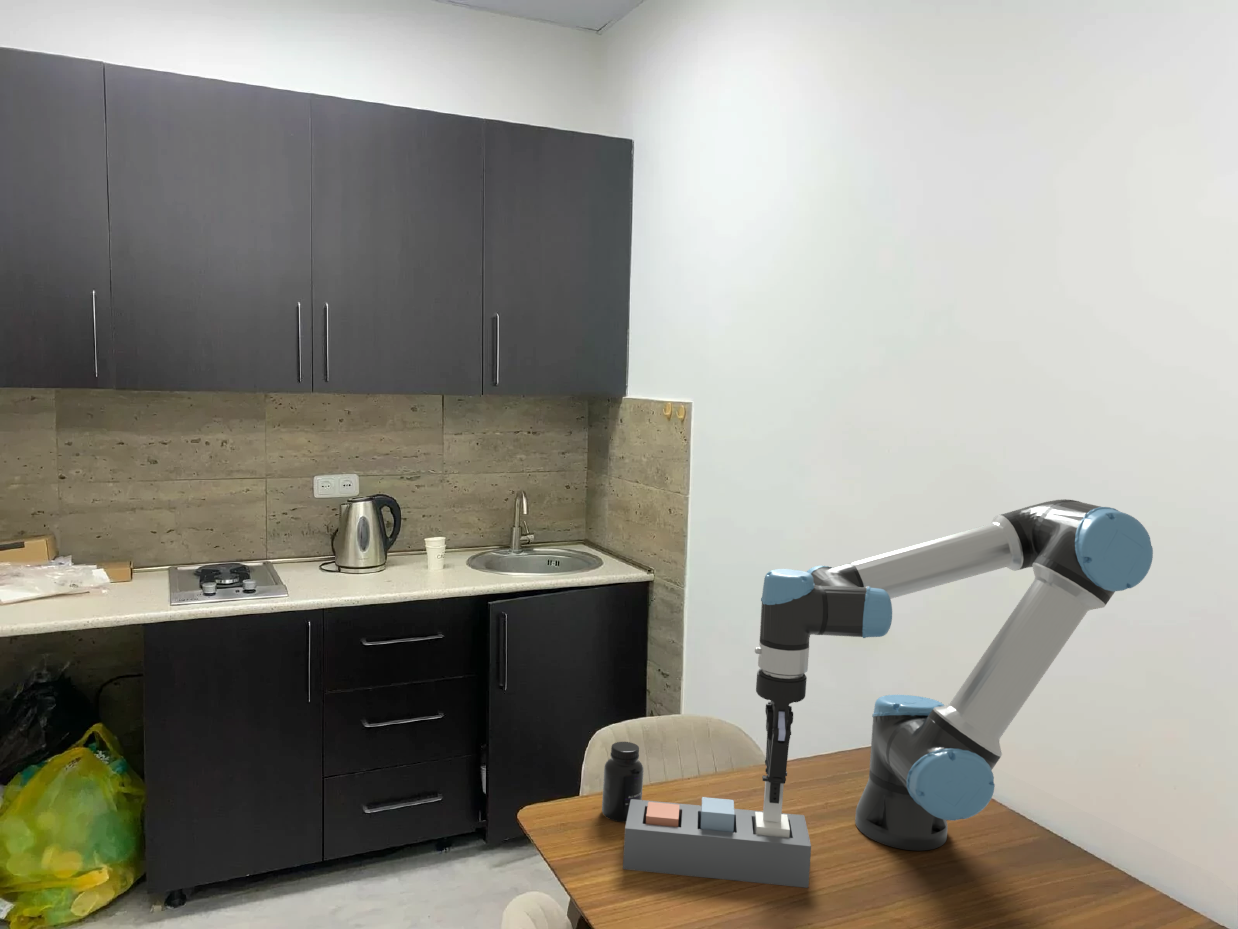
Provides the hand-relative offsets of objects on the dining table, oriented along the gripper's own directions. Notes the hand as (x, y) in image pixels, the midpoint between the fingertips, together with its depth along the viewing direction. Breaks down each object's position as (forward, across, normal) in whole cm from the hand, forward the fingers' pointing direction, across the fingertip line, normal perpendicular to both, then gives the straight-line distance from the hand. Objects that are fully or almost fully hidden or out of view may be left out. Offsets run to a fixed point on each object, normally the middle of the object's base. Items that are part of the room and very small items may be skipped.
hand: (771, 819), depth 140 cm
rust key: (+5, 0, -17) cm, 18 cm away
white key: (+5, 0, 0) cm, 5 cm away
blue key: (+4, 0, -8) cm, 9 cm away
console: (+8, 0, -8) cm, 11 cm away
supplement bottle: (+8, -13, -24) cm, 29 cm away
